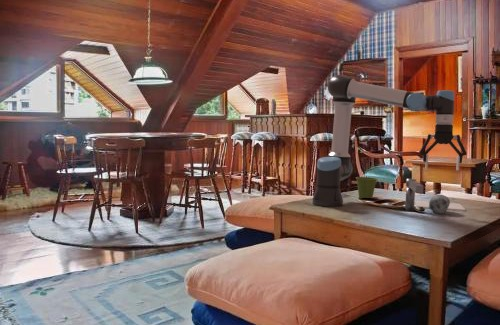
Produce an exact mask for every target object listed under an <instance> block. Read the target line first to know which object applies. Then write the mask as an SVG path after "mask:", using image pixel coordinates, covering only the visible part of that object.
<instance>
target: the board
mask: <svg viewBox="0 0 500 325" xmlns="http://www.w3.org/2000/svg"><path fill="white" fill-rule="evenodd" d="M429 202H430V201H425V200H424V201H423V200H415V201H414V206H417V207H423V208H422V209H430V208H429ZM417 207H416V208H417ZM430 210H431V209H430ZM446 211H458V212H459V211H460V212H466V208H464V206H462V205H461V204H460V203H453V202H450V204H449V207H448V208H447V210H446Z"/></svg>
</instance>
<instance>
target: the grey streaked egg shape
mask: <svg viewBox="0 0 500 325" xmlns="http://www.w3.org/2000/svg"><path fill="white" fill-rule="evenodd" d="M428 202H429V208H430V210H431V211H432V212H433V213H435V214H439V215H442V214H444V213H446V212H447V211H448V210H447V208H448V207H449V204H450V203H451V202H450V198H449V197H447V196H446V195H444V194H436V195H434V196H432V197H431V198H430V200H429V201H428Z"/></svg>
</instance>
